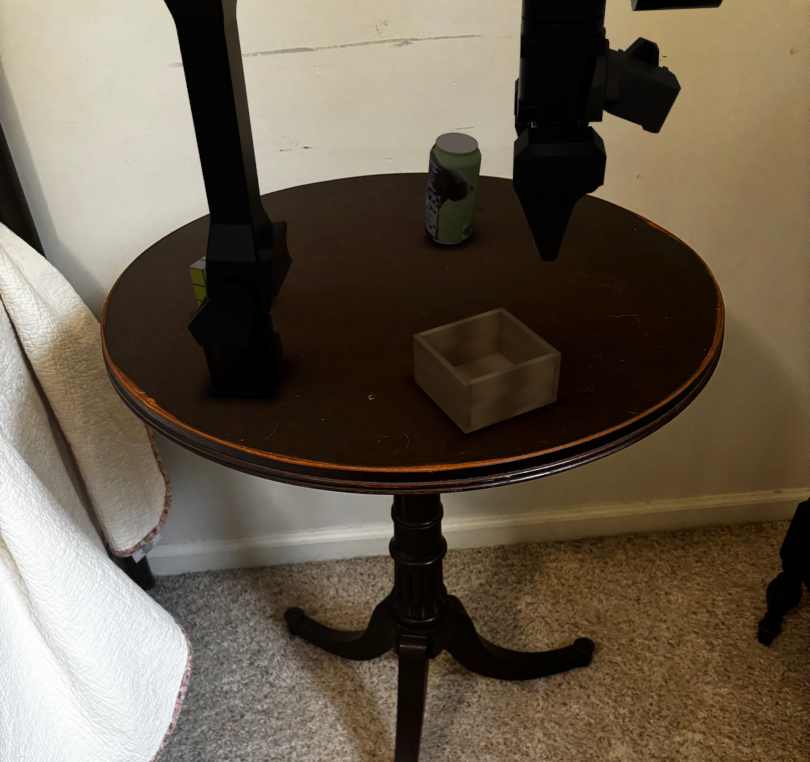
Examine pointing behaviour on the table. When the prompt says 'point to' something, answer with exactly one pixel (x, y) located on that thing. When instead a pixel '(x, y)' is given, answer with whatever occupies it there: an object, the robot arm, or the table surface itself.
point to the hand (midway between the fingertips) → (547, 235)
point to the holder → (486, 369)
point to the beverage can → (452, 188)
